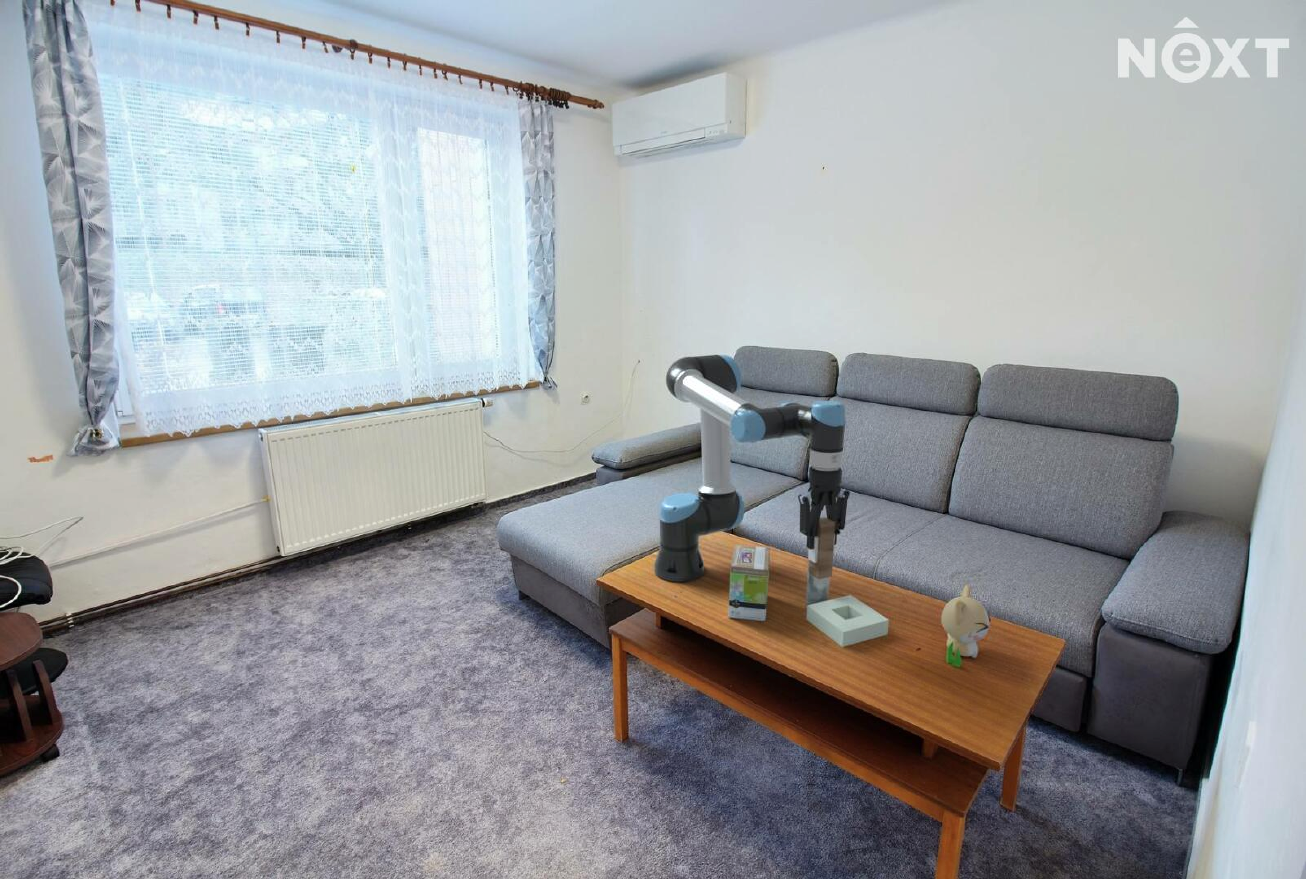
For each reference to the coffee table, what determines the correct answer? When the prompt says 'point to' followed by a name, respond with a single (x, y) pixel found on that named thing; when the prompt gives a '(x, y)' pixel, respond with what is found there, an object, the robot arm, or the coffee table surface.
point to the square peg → (824, 550)
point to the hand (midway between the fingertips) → (820, 558)
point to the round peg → (816, 589)
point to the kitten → (964, 626)
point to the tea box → (749, 582)
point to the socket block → (850, 631)
